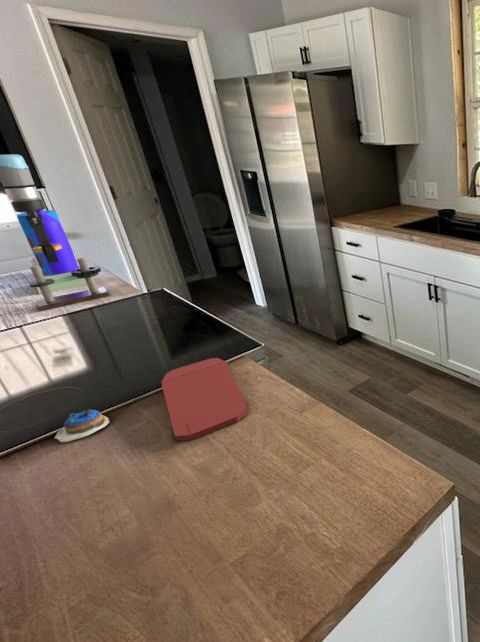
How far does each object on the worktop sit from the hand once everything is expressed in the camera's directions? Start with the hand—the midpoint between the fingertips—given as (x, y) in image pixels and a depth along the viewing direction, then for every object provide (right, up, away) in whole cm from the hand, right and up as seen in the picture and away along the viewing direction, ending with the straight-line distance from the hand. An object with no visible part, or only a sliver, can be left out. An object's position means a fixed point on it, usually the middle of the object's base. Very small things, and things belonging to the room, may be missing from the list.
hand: (53, 260), depth 156 cm
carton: (+107, -36, -65) cm, 130 cm away
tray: (0, -9, +4) cm, 10 cm away
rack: (+21, -15, -12) cm, 28 cm away
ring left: (0, +4, -1) cm, 4 cm away
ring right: (+24, -5, -11) cm, 27 cm away
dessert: (+89, -39, -74) cm, 122 cm away
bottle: (-9, -6, +14) cm, 17 cm away
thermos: (-18, -4, +19) cm, 27 cm away
